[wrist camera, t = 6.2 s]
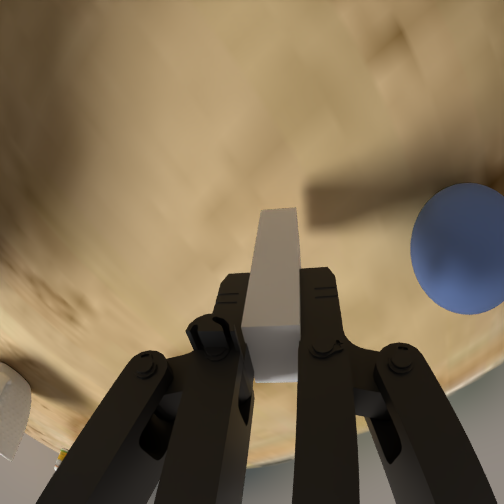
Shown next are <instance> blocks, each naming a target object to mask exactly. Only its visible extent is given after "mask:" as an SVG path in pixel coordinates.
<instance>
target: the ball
mask: <svg viewBox="0 0 504 504" xmlns="http://www.w3.org/2000/svg"><path fill="white" fill-rule="evenodd" d="M411 260H412V266H413V269H414V273H415V275H416V277H417V280H418V282H419V284H420V285H421V287H422V289H423V290H424V291H425V292H426V294H427V295H428V296H429V297H430V298H431V299H432V300H433V301H434V302H435V303H437V304H438V305H439V306H441V307H443V308H445V309H447V310H449V311H452V312H454V313H459V314H469V315H471V314H479V313H483V312H486V311H489V310H491V309H493V308H495V307H496V306H498V305H499V304H501V303H502V302H503V301H504V196H502V195H501V194H500V193H498V192H497V191H495V190H494V189H492V188H489V187H487V186H484V185H481V184H476V183H460V184H455V185H452V186H449V187H447V188H445V189H443V190H441V191H440V192H438V193H437V194H435V195H434V196H433V197H432V198H431V199H430V200H429V201H428V202H427V203H426V204H425V205H424V207H423V208H422V210H421V212H420V213H419V215H418V217H417V219H416V222H415V224H414V227H413V231H412V237H411Z"/></svg>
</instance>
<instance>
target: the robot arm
mask: <svg viewBox="0 0 504 504" xmlns="http://www.w3.org/2000/svg"><path fill="white" fill-rule="evenodd" d="M186 334H187V336H188V338H189V340H190V343H191V345H192V347H193V349H194V351H192V352H190V353H188V354H185V355H181V356H177V357H173V358H168V359H166V358H165V357H164V355H163V354H161V353H159V352H158V351H151V350H149V351H145V352H141V353H139V354H137V355H136V356H134V357H133V358H132V359H131V360H130V361H129V362H128V364H127V365H126V367H125V368H124V369H123V371H122V372H121V374H120V375H119V377H118V378H117V380H116V381H115V382H114V384H113V385H112V387H111V388H110V390H109V391H108V393H107V394H106V396H105V397H104V398H103V400H102V401H101V403H100V404H99V406H98V407H97V409H96V410H95V412H94V413H93V415H92V416H91V418H90V419H89V421H88V422H87V424H86V425H85V427H84V428H83V430H82V431H81V433H80V434H79V436H78V437H77V439H76V440H75V442H74V443H73V445H72V446H71V448H70V450H69V451H68V453H67V454H66V456H65V457H64V459H63V460H62V462H61V464H60V465H59V467H58V468H57V470H56V471H55V473H54V475H53V477H52V478H51V479H50V481H49V483H48V484H47V486H46V487H45V489H44V491H43V492H42V494H41V496H40V497H39V499H38V500H37V502H36V504H147V502H148V500H149V498H150V496H151V494H152V493H153V491H154V489H155V487H156V485H157V483H158V481H159V480H160V481H159V485H158V489H157V493H156V497H155V501H154V504H242V496H243V489H244V488H243V487H244V481H245V473H246V465H247V457H248V449H249V441H250V433H251V424H252V416H253V407H254V391H253V388H252V387H253V379H254V378H255V381H256V383H275V382H298V384H297V419H296V443H295V463H294V464H295V465H294V482H293V496H292V504H360V500H359V465H358V445H357V430H356V417H355V415H359V416H364V417H365V420H366V422H367V425H368V427H369V430H370V433H371V435H372V438H373V441H374V443H375V446H376V449H377V451H378V454H379V457H380V459H381V462H382V465H383V467H384V470H385V473H386V476H387V478H388V481H389V484H390V487H391V490H392V493H393V495H394V498H395V501H396V504H497V501H496V499H495V496H494V494H493V492H492V489H491V487H490V484H489V482H488V480H487V477H486V475H485V473H484V471H483V468H482V466H481V464H480V462H479V460H478V458H477V455H476V454H475V451H474V449H473V447H472V445H471V443H470V441H469V439H468V437H467V435H466V433H465V431H464V429H463V427H462V425H461V423H460V421H459V419H458V417H457V416H456V413H455V412H454V410H453V408H452V406H451V404H450V402H449V400H448V399H447V397H446V395H445V393H444V391H443V389H442V388H441V386H440V384H439V382H438V381H437V379H436V377H435V375H434V374H433V372H432V370H431V369H430V367H429V365H428V363H427V362H426V360H425V358H424V357H423V355H422V354H421V353H420V351H419V350H418V349H417V348H415V347H413V346H412V345H410V344H406V343H400V342H399V343H393V344H389V345H388V346H386V347H384V348H383V349H382V350H381V351H380V352H378V351H373V350H367V349H363V348H360V347H358V346H356V345H354V344H352V343H351V342H350V341H349V340H348V339H347V337H346V336H345V334H344V331H343V325H342V318H341V311H340V305H339V298H338V292H337V285H336V279H335V275H334V274H333V273H332V272H331V270H330V269H329V268H328V267H319V268H304V269H301V258H300V245H299V233H298V221H297V210H296V207H295V208H282V209H269V210H261V213H260V219H259V225H258V231H257V237H256V243H255V248H254V254H253V260H252V266H251V272H250V273H235V274H228V275H227V277H226V278H225V279H224V280H223V281H222V282H221V284H220V288H219V292H218V296H217V299H216V304H215V306H214V310H213V313H212V314H205V315H203V316H200V317H198V318H196V319H195V320H194V321H193V322H191V323H190V324H189V326H188V327H187V329H186Z"/></svg>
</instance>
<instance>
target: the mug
mask: <svg viewBox="0 0 504 504" xmlns="http://www.w3.org/2000/svg"><path fill="white" fill-rule="evenodd" d="M30 407H31V388H30V385H29V384H28V382H27V381H26V380H25V379H24V378H23V377H22V376H21V375H20V374H19V373H17V372H16V371H15V370H14V369H12V368H11V367H9V366H8V365H6V364H4V363H2V362H0V455H2V456H3V457H5V458H6V459H8V460H9V461H11V462H12V461H13V459H14V456H15V454H16V452H17V449H18V447H19V444H20V441H21V440H22V437H23V433H24V431H25V429H26V426H27V422H28V418H29V414H30V409H31V408H30Z"/></svg>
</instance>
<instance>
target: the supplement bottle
mask: <svg viewBox="0 0 504 504" xmlns="http://www.w3.org/2000/svg"><path fill="white" fill-rule="evenodd" d="M68 451H69V450H67V449H64V448H62V449H61V451H60V454H59V456H58V459H57V462H56V464H55V467H54V469H55V471H56V470H57V468H58V467H59V465H60V464H61V462H62V460H63V459H64V457H65V456H66V454H67V453H68Z"/></svg>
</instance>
